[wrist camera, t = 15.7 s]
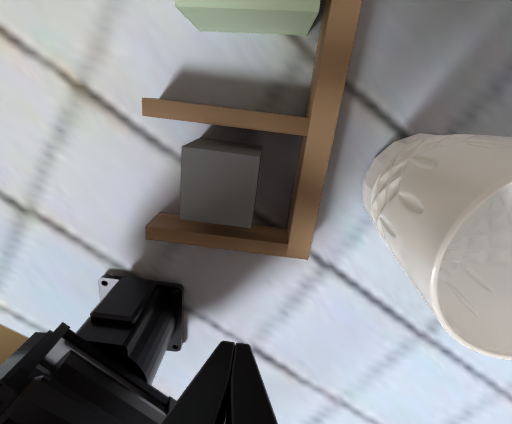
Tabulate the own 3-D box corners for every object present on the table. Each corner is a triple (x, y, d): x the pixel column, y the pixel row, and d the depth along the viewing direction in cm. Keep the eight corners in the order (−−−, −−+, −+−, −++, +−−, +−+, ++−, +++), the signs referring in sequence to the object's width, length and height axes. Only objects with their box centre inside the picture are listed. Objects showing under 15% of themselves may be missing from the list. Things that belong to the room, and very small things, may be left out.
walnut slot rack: (304, 242, 20) (307, 259, 18) (159, 224, 20) (145, 239, 18) (387, -177, 13) (412, -238, 10) (156, -205, 13) (132, -271, 10)
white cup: (398, 261, 20) (506, 393, 11) (326, 185, 19) (382, 266, 9) (502, 186, 18) (748, 273, 9) (431, 93, 16) (643, 79, 7)
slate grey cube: (254, 204, 20) (250, 228, 16) (197, 196, 20) (179, 218, 16) (262, 145, 18) (259, 156, 14) (200, 137, 18) (181, 146, 14)
